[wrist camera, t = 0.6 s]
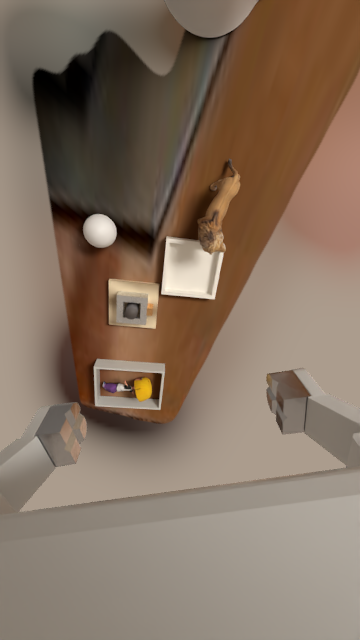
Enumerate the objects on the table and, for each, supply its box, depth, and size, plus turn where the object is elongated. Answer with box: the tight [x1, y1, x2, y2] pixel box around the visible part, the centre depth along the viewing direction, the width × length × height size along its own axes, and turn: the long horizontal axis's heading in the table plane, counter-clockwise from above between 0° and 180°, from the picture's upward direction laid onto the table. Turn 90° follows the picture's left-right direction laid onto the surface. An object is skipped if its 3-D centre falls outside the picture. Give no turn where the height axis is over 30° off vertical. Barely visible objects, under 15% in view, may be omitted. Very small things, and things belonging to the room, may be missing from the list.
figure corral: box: [94, 359, 165, 410], centre depth 62 cm, size 12×16×3 cm
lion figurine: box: [197, 159, 240, 255], centre depth 42 cm, size 15×5×9 cm, turn 166°
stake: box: [109, 279, 159, 329], centre depth 52 cm, size 10×10×5 cm
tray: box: [161, 236, 225, 299], centre depth 50 cm, size 11×11×2 cm
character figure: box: [103, 377, 152, 402], centre depth 62 cm, size 9×6×12 cm
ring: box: [116, 291, 153, 325], centre depth 52 cm, size 6×7×2 cm
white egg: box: [83, 213, 117, 248], centre depth 45 cm, size 8×6×6 cm
